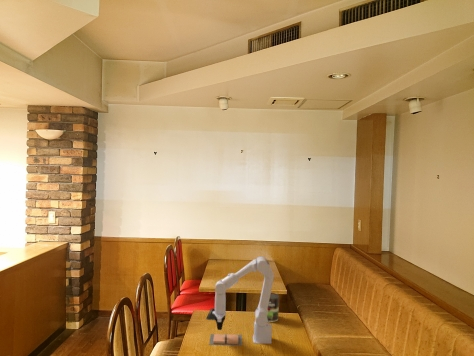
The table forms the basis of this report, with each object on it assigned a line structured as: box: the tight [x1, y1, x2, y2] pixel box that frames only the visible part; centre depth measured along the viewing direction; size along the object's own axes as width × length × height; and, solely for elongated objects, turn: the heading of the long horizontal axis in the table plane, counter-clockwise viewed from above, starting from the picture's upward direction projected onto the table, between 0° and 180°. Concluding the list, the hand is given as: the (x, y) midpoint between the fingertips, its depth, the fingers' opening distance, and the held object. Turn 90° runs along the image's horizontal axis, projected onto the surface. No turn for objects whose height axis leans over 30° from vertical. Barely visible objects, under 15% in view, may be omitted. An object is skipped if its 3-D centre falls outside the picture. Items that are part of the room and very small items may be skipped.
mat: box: [208, 333, 243, 346], centre depth 177 cm, size 17×11×1 cm, turn 91°
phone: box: [205, 307, 215, 321], centre depth 207 cm, size 8×1×15 cm
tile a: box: [226, 333, 239, 344], centre depth 176 cm, size 6×1×7 cm
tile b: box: [213, 333, 225, 344], centre depth 176 cm, size 6×1×7 cm
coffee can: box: [267, 292, 280, 323], centre depth 204 cm, size 10×10×14 cm
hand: (219, 329), depth 178 cm, fingers closed
